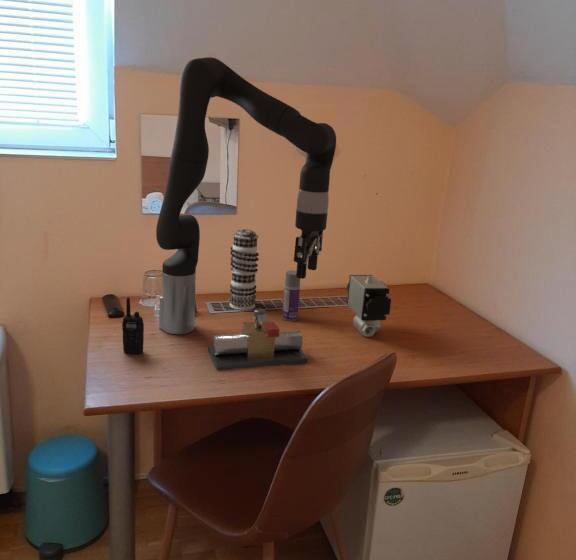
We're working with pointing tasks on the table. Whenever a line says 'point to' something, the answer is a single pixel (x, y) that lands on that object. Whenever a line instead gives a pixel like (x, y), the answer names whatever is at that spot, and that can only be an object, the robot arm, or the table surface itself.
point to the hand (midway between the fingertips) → (306, 273)
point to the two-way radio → (132, 331)
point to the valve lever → (266, 323)
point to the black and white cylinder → (243, 270)
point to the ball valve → (368, 302)
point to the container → (291, 296)
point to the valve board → (258, 360)
